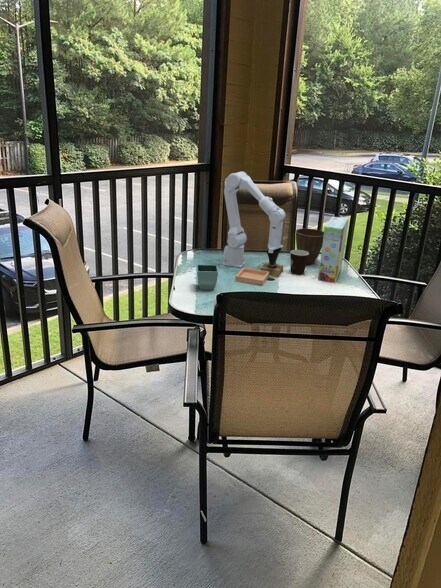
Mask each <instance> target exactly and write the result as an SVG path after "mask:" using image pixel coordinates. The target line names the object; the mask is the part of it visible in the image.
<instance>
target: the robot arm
mask: <svg viewBox="0 0 441 588" xmlns="http://www.w3.org/2000/svg"><path fill="white" fill-rule="evenodd" d="M240 189H243V190H247V192H248V193H250V195H252V197H254V198H255V199H256V200H257V201H258V206H259V207H260V208H261V210H262V211H263V212H264V213H265V214H266V215H267V216H268V219H269V223H270V224H269V225H270V226H269V234H268V243H267V249H266V254H267V257H268V263H269V264H270V265H274V264H275V260H276V262H277V261H278V257H279V254H280V252H281V250H282V248H284V245H283V244H282V239H283V238H282V237H283V235H282V234H283V226H284V220H285V219H286V215H287V214H286V212H285V210H284V209H283V208H280V206H279V205H277V204H276V203H275V202H274V201H273V198H272V197H270V196H265V195H264V194H263V193H262V192H261V190H260V189H259V187H258V186H257V185H256V184H255V182H253V180H252V178H251V177H250V176H249V175H248V174H247V173H246V172H245V171H238V172H232V173H230V174H228V176H227V177H226V179H225V185H224V189H223V195H224V201H225V207H226V212H227V213H226V214H227V218H228V224H229V230H228V231H227V241H226V242H227V245H225V246H224V249H223V261H222V265H223V266H228V267H235V268H243V266H245V264H246V262H245V261H244V255H245V254H244V253H245V243H246V242H247V241H248V237H247V234H246V233H245V230H244V227H242V224H241V218H240V212H239V211H240V210H239V205H238V198H237V192H238V191H239V190H240Z"/></svg>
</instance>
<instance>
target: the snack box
mask: <svg viewBox="0 0 441 588" xmlns="http://www.w3.org/2000/svg"><path fill="white" fill-rule="evenodd" d="M348 223H349V218H348V217H339V216H331V218H329V221H328V222H327V223H326V225H325V226H324V229H323V232H324V237H323V245H322V248H321V252H320V253H321V254H320V262H319V271H318V278H317V280H318V281H322V282H329V283H335V284H336V281H337V279H338V276H339V275H340V273H341V270H342V269H343V268H342V266H343V261H344V252H345V247H346V246H345V245H346V239H347V231H348Z"/></svg>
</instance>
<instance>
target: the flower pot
mask: <svg viewBox="0 0 441 588" xmlns="http://www.w3.org/2000/svg"><path fill="white" fill-rule="evenodd" d="M196 275H197V283H198V286H199V289H200V290H206V291H207V290H210V291H213V290H214V289H215V287H216V285H217V282H218V279H219V278H218V276H219V269H218V265H216V264H196Z"/></svg>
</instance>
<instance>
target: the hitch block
mask: <svg viewBox="0 0 441 588" xmlns="http://www.w3.org/2000/svg"><path fill="white" fill-rule="evenodd" d="M260 270H262V271H268V272H270V274H269V276H270V275H271V277H277V278H279V277H280V276H281V275H282V273H283V272H284V264H279V263H276V267H275V268H270V267H269V262H264V263H263V264H262V266H261V267H260Z"/></svg>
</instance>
